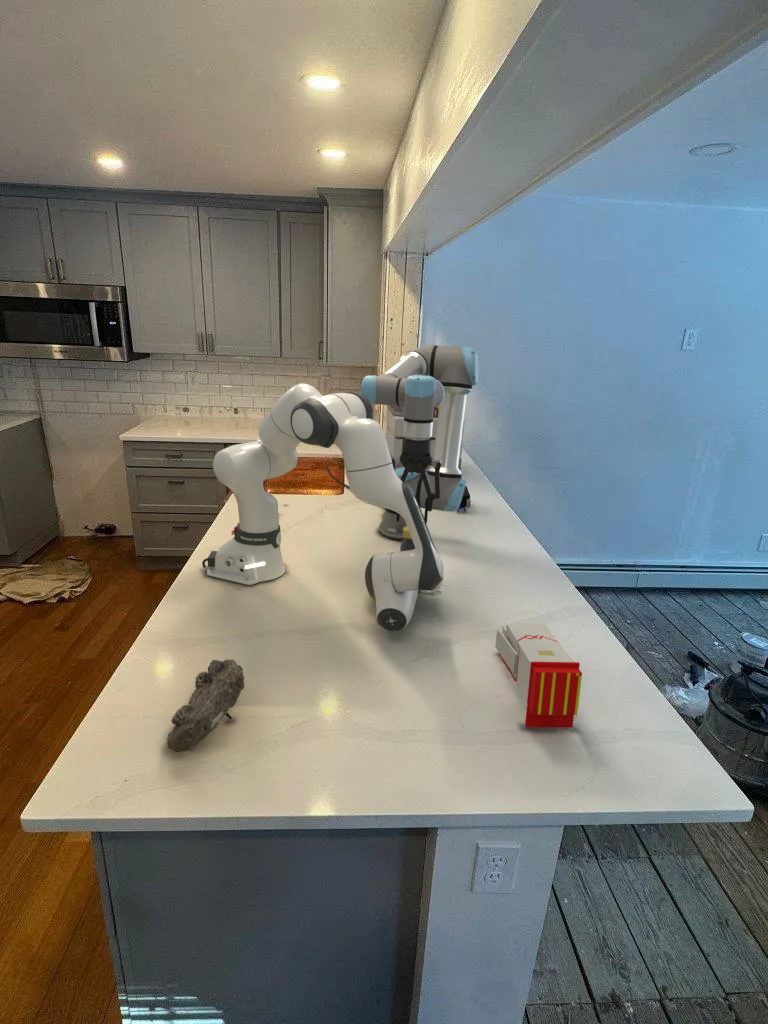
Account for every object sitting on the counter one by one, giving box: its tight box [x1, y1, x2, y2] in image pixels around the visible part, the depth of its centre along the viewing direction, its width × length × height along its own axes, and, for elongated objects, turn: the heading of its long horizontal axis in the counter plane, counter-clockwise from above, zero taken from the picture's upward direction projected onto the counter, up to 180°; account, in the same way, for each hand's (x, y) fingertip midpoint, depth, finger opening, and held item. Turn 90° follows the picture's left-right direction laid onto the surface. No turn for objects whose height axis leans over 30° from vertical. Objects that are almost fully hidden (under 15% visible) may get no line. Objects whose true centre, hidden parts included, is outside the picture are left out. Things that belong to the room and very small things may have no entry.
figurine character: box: [456, 485, 472, 513], centre depth 228 cm, size 7×8×15 cm
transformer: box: [385, 405, 465, 472], centre depth 268 cm, size 34×33×41 cm
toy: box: [494, 623, 583, 729], centre depth 120 cm, size 12×13×30 cm
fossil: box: [166, 658, 245, 754], centre depth 106 cm, size 22×10×15 cm
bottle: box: [399, 538, 415, 551], centre depth 158 cm, size 5×5×18 cm
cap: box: [403, 526, 412, 539], centre depth 155 cm, size 4×4×2 cm
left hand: (408, 567), depth 159 cm, fingers open, 8 cm apart
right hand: (411, 520), depth 154 cm, fingers open, 7 cm apart
